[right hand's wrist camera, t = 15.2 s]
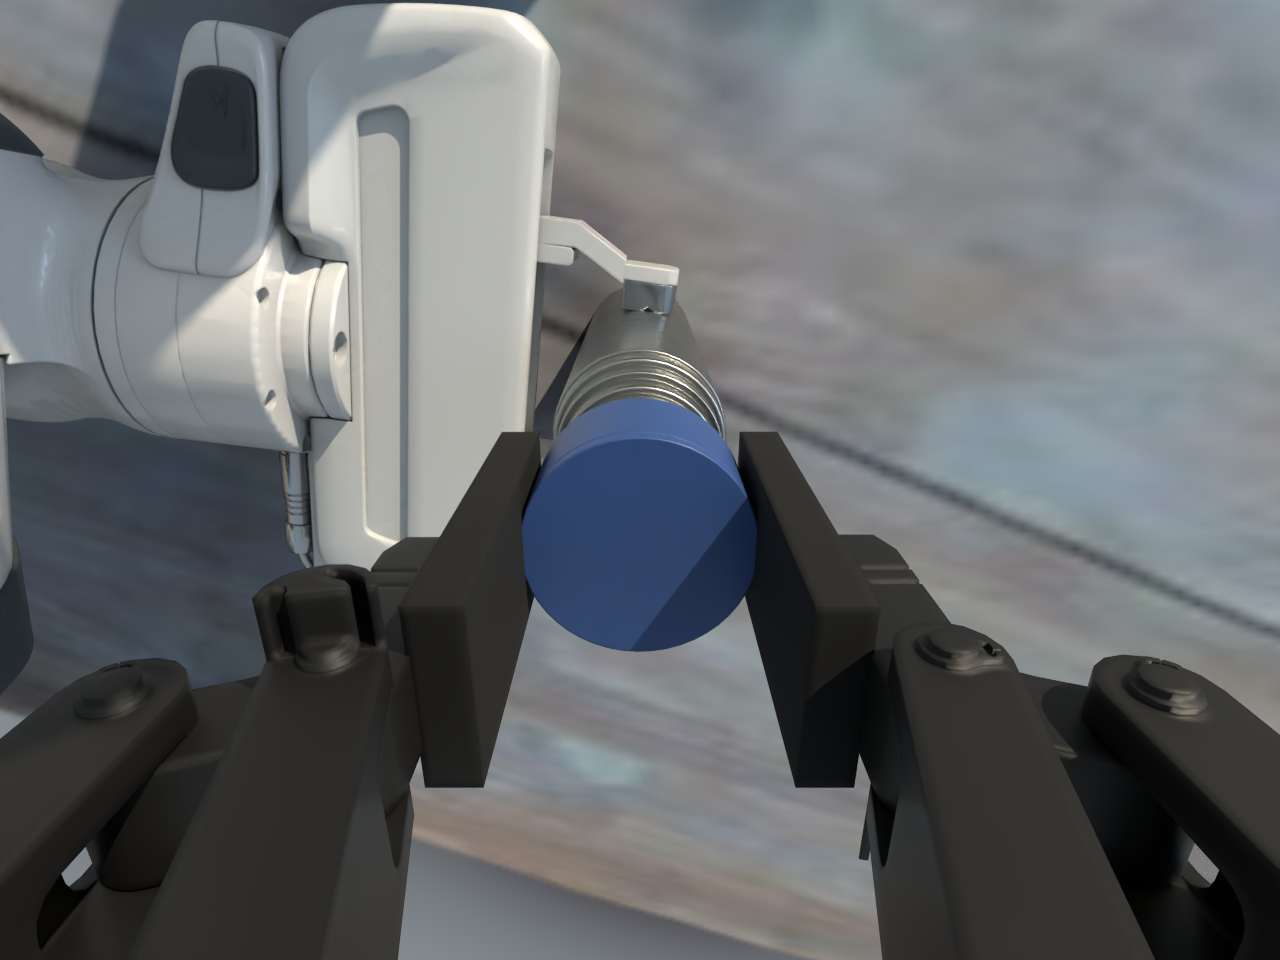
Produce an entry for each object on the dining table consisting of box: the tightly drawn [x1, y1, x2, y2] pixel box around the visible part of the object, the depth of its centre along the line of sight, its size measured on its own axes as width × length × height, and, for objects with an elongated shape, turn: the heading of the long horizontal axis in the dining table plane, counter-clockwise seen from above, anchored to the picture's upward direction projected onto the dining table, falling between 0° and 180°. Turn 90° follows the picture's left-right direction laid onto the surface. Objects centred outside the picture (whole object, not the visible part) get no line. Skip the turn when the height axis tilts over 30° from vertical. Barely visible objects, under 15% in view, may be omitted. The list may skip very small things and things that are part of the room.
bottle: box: [553, 288, 726, 442], centre depth 22 cm, size 4×4×20 cm
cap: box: [522, 398, 757, 652], centre depth 13 cm, size 4×4×2 cm
